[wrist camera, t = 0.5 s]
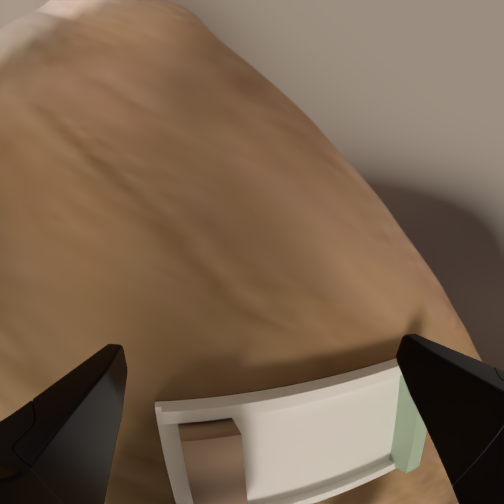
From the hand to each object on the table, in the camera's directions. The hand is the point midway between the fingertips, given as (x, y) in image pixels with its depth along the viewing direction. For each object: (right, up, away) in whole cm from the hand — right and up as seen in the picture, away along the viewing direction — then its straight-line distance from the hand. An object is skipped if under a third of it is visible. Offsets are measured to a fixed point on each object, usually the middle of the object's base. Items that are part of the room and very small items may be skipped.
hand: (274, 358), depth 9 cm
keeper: (-4, -14, +11) cm, 18 cm away
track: (+4, -14, +14) cm, 20 cm away
